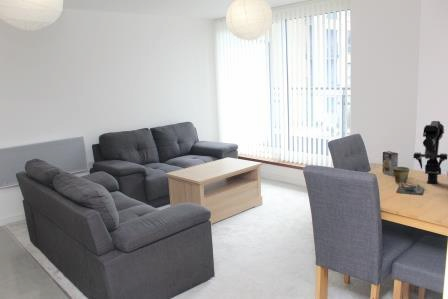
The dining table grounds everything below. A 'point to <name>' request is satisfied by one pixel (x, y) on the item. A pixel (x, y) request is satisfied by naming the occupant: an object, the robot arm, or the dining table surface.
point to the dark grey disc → (408, 185)
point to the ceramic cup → (400, 174)
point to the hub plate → (417, 190)
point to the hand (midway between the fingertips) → (429, 169)
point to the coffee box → (389, 162)
